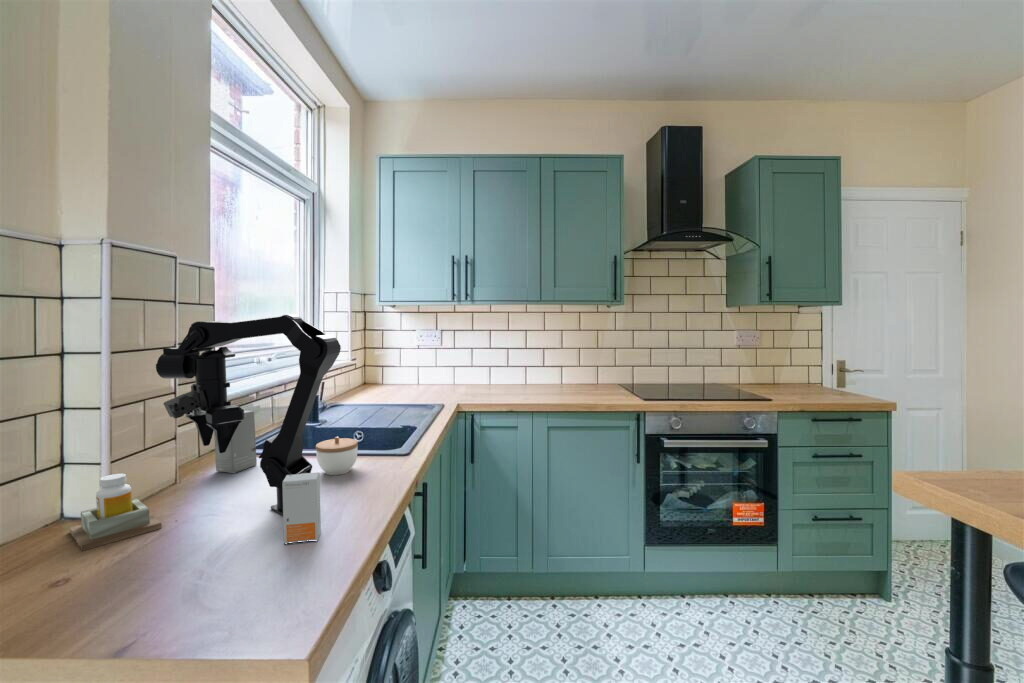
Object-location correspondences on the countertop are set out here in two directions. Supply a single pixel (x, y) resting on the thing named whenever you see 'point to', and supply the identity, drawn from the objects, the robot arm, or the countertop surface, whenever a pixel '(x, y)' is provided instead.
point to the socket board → (113, 526)
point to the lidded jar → (337, 455)
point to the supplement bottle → (113, 496)
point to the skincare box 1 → (239, 447)
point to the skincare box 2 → (301, 507)
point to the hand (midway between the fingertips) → (214, 449)
